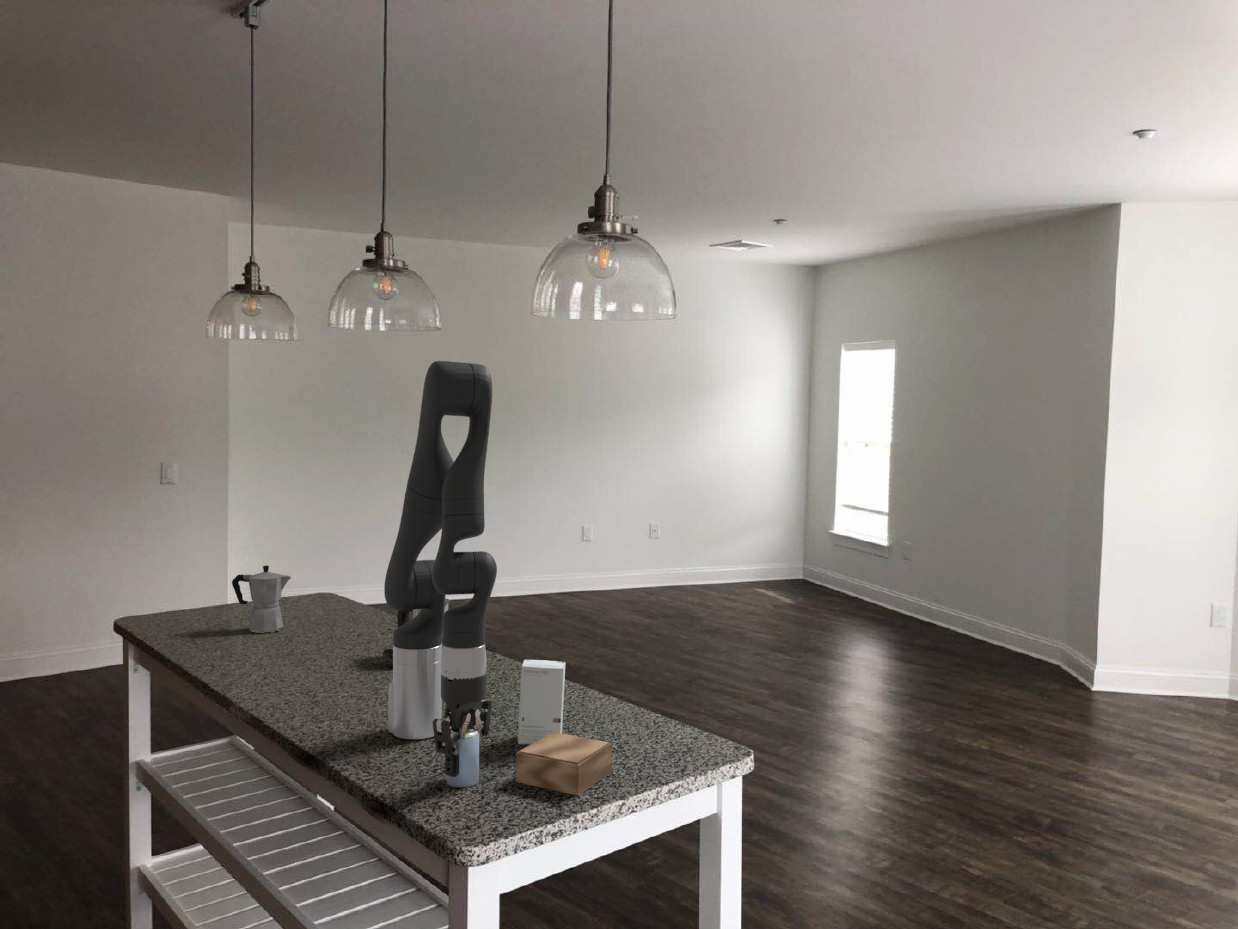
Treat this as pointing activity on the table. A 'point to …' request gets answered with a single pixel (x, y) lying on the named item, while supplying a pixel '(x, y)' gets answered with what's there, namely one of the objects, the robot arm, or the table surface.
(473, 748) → the canister
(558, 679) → the skincare box
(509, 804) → the table surface
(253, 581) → the coffeepot
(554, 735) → the cardboard box
